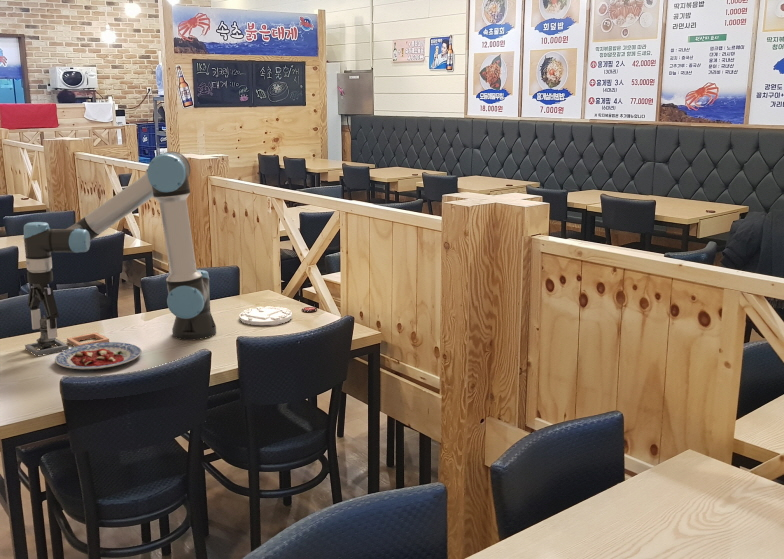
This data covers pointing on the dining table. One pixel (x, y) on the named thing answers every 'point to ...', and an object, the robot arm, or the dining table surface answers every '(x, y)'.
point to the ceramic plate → (98, 355)
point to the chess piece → (44, 335)
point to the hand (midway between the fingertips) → (44, 333)
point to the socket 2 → (93, 335)
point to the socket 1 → (50, 350)
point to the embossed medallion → (266, 315)
